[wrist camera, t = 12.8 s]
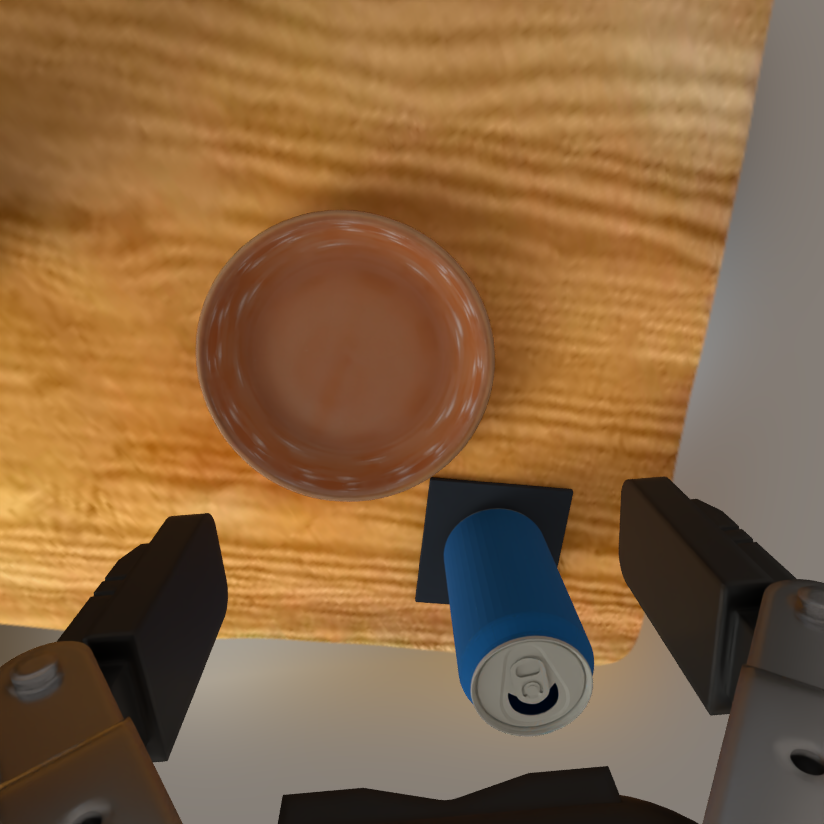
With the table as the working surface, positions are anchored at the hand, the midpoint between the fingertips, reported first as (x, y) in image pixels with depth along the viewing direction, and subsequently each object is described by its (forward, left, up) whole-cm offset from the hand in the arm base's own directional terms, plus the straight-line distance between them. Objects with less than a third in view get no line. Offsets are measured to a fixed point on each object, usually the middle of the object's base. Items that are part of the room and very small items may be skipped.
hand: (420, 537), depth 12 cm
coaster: (+4, -15, -24) cm, 29 cm away
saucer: (-3, -2, -24) cm, 24 cm away
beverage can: (+4, -15, -24) cm, 28 cm away
